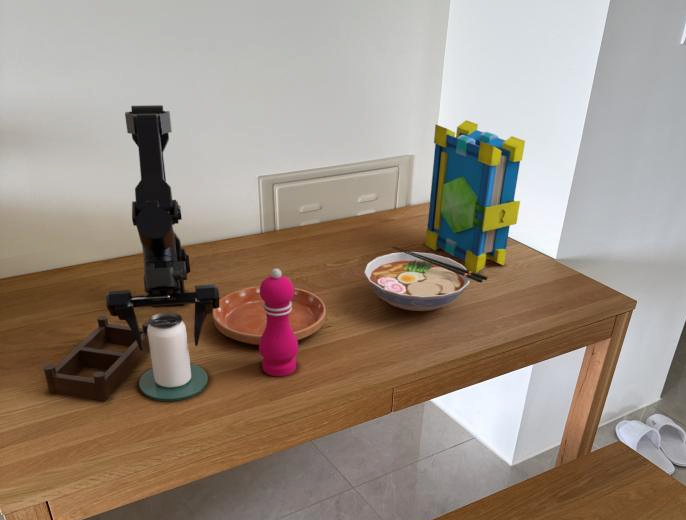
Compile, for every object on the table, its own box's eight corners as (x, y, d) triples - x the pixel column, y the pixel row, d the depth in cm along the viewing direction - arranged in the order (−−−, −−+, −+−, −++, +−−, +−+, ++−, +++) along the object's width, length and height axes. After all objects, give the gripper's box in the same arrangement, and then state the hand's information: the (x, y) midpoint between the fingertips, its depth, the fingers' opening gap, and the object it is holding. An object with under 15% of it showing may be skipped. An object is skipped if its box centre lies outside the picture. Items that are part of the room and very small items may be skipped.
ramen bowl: (338, 300, 158) (338, 266, 153) (404, 271, 172) (407, 238, 167) (426, 342, 144) (430, 305, 140) (491, 306, 158) (496, 272, 154)
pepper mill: (260, 357, 137) (255, 260, 126) (298, 357, 138) (297, 260, 126) (259, 378, 131) (254, 278, 120) (299, 377, 132) (297, 278, 120)
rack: (104, 337, 141) (100, 314, 139) (156, 344, 140) (153, 322, 137) (47, 393, 125) (41, 368, 122) (105, 402, 123) (100, 377, 121)
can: (192, 387, 127) (185, 327, 120) (154, 390, 126) (145, 330, 119) (191, 368, 132) (184, 309, 125) (154, 371, 131) (146, 312, 124)
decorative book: (471, 277, 171) (488, 148, 154) (413, 243, 186) (423, 123, 169) (515, 265, 177) (536, 140, 160) (456, 234, 193) (469, 117, 176)
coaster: (208, 363, 135) (208, 360, 134) (206, 399, 125) (206, 396, 125) (142, 366, 133) (142, 363, 133) (135, 403, 123) (135, 400, 123)
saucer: (190, 325, 147) (188, 309, 144) (271, 289, 161) (270, 274, 159) (269, 365, 135) (268, 348, 133) (348, 323, 150) (348, 307, 148)
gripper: (97, 247, 116) (105, 340, 114) (214, 240, 120) (224, 330, 118) (107, 271, 127) (115, 357, 125) (214, 265, 131) (223, 347, 128)
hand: (169, 347), depth 123 cm, fingers open, 9 cm apart
